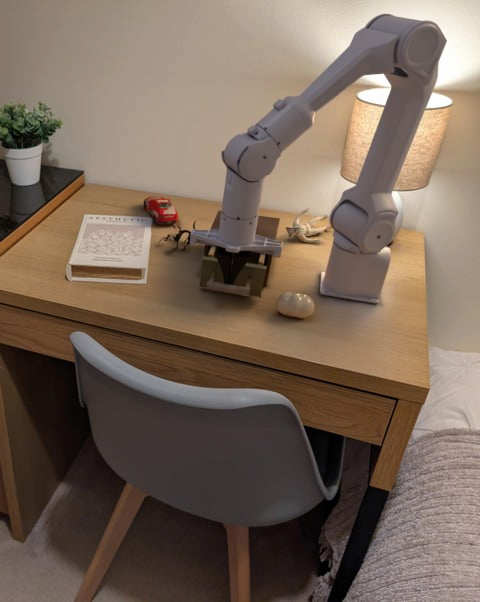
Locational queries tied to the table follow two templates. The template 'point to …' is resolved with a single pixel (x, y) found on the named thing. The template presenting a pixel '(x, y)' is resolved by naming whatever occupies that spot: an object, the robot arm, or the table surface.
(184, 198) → the table surface
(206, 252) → the cabinet
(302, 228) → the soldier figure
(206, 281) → the drawer
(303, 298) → the egg
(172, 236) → the creature
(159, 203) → the race car
